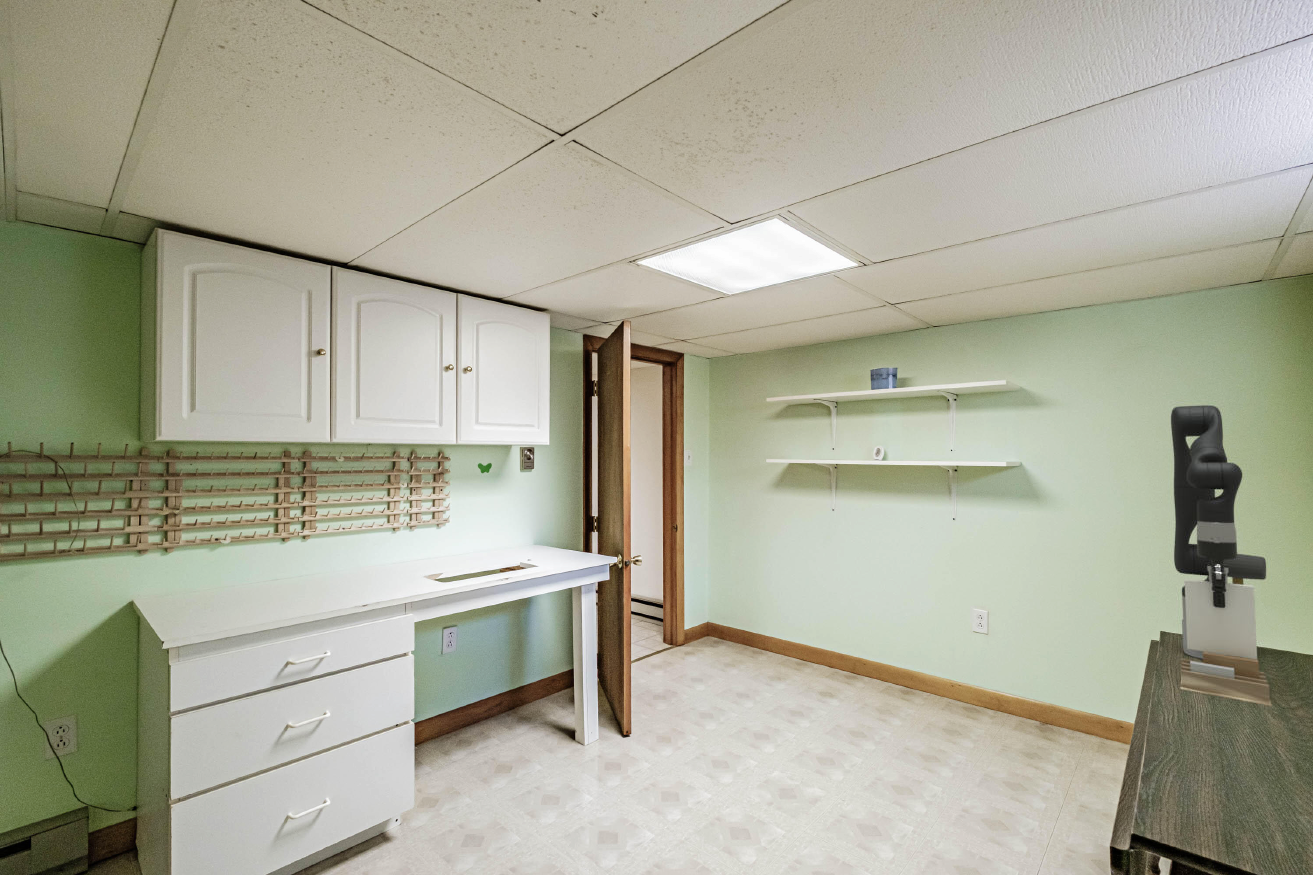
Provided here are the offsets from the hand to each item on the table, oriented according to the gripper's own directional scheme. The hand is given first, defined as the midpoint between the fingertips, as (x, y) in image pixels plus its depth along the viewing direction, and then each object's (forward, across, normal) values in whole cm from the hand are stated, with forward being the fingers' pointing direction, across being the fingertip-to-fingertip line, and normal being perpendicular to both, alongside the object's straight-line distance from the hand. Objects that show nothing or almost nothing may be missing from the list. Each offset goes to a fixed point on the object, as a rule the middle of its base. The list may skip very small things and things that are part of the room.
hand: (1219, 605), depth 153 cm
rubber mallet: (+21, -43, +5) cm, 48 cm away
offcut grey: (+20, +8, -2) cm, 21 cm away
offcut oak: (+20, +4, +2) cm, 20 cm away
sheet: (+12, 0, 0) cm, 12 cm away
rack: (+21, +4, 0) cm, 21 cm away
